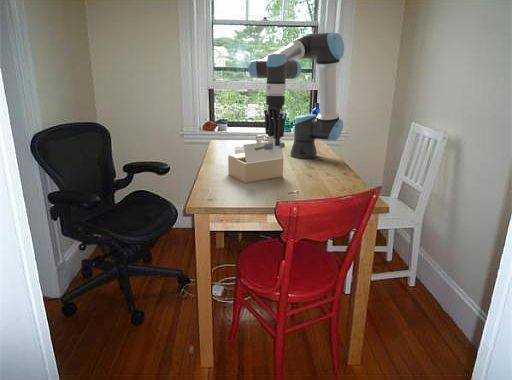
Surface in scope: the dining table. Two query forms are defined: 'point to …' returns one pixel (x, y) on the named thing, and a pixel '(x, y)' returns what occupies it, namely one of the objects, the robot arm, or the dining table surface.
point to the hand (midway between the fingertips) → (273, 152)
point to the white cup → (239, 150)
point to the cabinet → (254, 169)
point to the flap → (261, 152)
